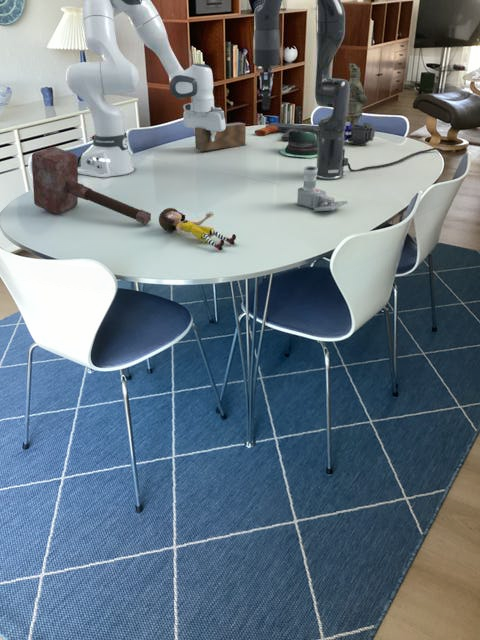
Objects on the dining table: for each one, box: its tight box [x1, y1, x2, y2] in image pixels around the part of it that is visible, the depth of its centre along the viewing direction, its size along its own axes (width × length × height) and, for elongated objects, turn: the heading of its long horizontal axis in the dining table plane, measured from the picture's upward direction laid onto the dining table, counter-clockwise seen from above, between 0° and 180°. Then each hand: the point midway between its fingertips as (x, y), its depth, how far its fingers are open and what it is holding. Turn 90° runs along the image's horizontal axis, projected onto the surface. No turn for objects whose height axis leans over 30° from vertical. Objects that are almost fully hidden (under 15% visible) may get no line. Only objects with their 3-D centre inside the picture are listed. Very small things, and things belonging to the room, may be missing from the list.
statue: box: [345, 62, 368, 127], centre depth 262 cm, size 11×9×30 cm
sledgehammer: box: [31, 146, 152, 226], centre depth 169 cm, size 17×10×40 cm
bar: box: [194, 121, 246, 152], centre depth 243 cm, size 24×5×9 cm, turn 128°
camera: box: [296, 165, 349, 212], centre depth 171 cm, size 9×12×15 cm
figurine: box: [158, 207, 237, 251], centre depth 153 cm, size 13×8×25 cm
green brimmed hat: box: [279, 128, 318, 159], centre depth 234 cm, size 15×19×20 cm
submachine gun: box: [254, 122, 319, 141], centre depth 263 cm, size 32×3×25 cm
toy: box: [344, 122, 376, 146], centre depth 244 cm, size 9×9×15 cm
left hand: (205, 140), depth 239 cm, fingers closed on bar, 6 cm apart
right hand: (266, 107), depth 167 cm, fingers open, 8 cm apart
